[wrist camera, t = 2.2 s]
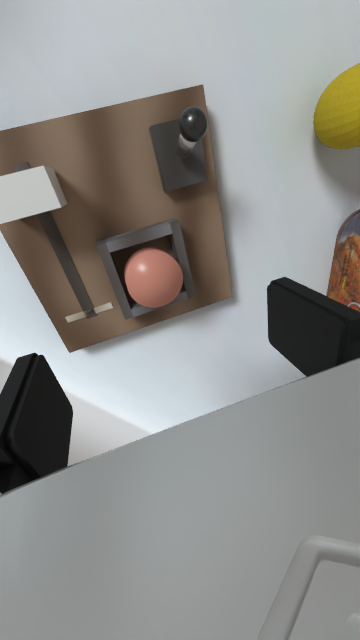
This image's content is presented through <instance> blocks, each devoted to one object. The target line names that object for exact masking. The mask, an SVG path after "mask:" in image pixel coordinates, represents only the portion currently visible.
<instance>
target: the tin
mask: <svg viewBox="0 0 360 640" xmlns="http://www.w3.org/2000/svg"><path fill="white" fill-rule="evenodd" d="M327 297H329V298H331V299H333V300H336V301H338V302H340V303H342V304H344V305H346V306H348V307H350V308H353V309H355V310H357V311H359V312H360V209H359V210H357V211H355V212H354V213H352V214H351V215H350V216H349V217H348V218H347V219H346V220H345V222H344V223H343V224H342V226H341V228H340V230H339V232H338V235H337V239H336V245H335V251H334V257H333V263H332V269H331V275H330V280H329V286H328V291H327Z"/></svg>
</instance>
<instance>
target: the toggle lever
mask: <svg viewBox="0 0 360 640" xmlns="http://www.w3.org/2000/svg"><path fill="white" fill-rule="evenodd" d="M207 126H208V121H207V117H206V114H205V112H204V111H203V110H202V109H201V108H199V107H196V106H191V107H188V108H187V109H185V110H184V111H183V113H182V114H181V116H180V119H179V130H180V136H179V139H178V142H177V145H176V153H177V155H178V156H179V157H180V158H182V159H186V158H188V157H189V156H190V155H191V153H192V151H193V148H194V146H195V144H196V142H197V141H199V140H200V139H202V138H203V136H204V135H205V133H206V131H207Z"/></svg>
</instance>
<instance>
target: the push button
mask: <svg viewBox="0 0 360 640" xmlns="http://www.w3.org/2000/svg"><path fill="white" fill-rule="evenodd" d="M124 278H125V282H126V285H127V289H128V292H129V294H130V295H131V297H132V298H133V299H134V300H135V301H136V302H137V303H139V304H140V305H143V306H145V307H151V308H156V307H161V306H164V305H167V304H168V303H170V302H171V301H173V300H174V299H175V298H176V297H177V295H178V294H179V292H180V290H181V288H182V284H183V274H182V270H181V268H180V266H179V264H178V263H177V262H176V260H175V259H174V258H173V257H172V256H171V255H169V254H168V253H167V252H166V251H164V250H162V249H160V248H156V247H147V248H143V249H140V250H138V251H136V252H135V253H134V254H133V255H132V256H131V257H130V258H129V259H128V261H127V263H126V265H125V270H124Z"/></svg>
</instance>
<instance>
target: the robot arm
mask: <svg viewBox="0 0 360 640" xmlns="http://www.w3.org/2000/svg"><path fill="white" fill-rule="evenodd" d="M267 305H268V339H269V342H270V344H271V345H272V346H273V347H274V348H275V349H276V350H278V351H279V352H280V353H281V354H282V355H283V356H284V357H285V358H287V359H288V360H289V361H290V362H291V363H292V364H293V365H294V366H295V367H297V368H298V369H299V370H300V371H301V372H302V373H303V374H304V375H305V376H307V377H305V378H302V379H299V380H297V381H294V382H291V383H289V384H286V385H283V386H280V387H278V388H275V389H272V390H270V391H267V392H264V393H262V394H259V395H256V396H254V397H251V398H248V399H245V400H243V401H240V402H237V403H235V404H232V405H229V406H227V407H224V408H221V409H219V410H216V411H213V412H211V413H208V414H205V415H203V416H200V417H197V418H195V419H192V420H189V421H187V422H184V423H181V424H179V425H176V426H173V427H171V428H168V429H165V430H163V431H160V432H158V433H155V434H152V435H150V436H147V437H144V438H142V439H139V440H137V441H134V442H131V443H129V444H126V445H124V446H121V447H118V448H116V449H113V450H110V451H108V452H105V453H102V454H100V455H97V456H94V457H92V458H89V459H87V460H84V461H81V462H79V463H76V464H74V465H71V466H68V467H67V464H68V455H69V445H70V436H71V427H72V417H73V410H72V406H71V404H70V402H69V400H68V398H67V397H66V395H65V393H64V391H63V389H62V388H61V386H60V384H59V382H58V380H57V379H56V377H55V375H54V373H53V372H52V370H51V368H50V366H49V364H48V363H47V361H46V359H45V357H44V356H43V355H39V356H38V355H37V354H36V353H32V354H29V355H25V356H22V357H19V358H17V360H16V362H15V364H14V366H13V368H12V371H11V373H10V375H9V377H8V379H7V381H6V383H5V385H4V388H3V390H2V392H1V394H0V640H360V312H359V311H357V310H355V309H353V308H350V307H348V306H346V305H344V304H342V303H340V302H338V301H336V300H333V299H331V298H329V297H327V296H325V295H323V294H321V293H319V292H316V291H314V290H312V289H310V288H308V287H306V286H304V285H302V284H299V283H297V282H295V281H293V280H291V279H289V278H287V277H283V278H280V279H276V280H273V281H271V283H270V285H269V286H268V287H267Z"/></svg>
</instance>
